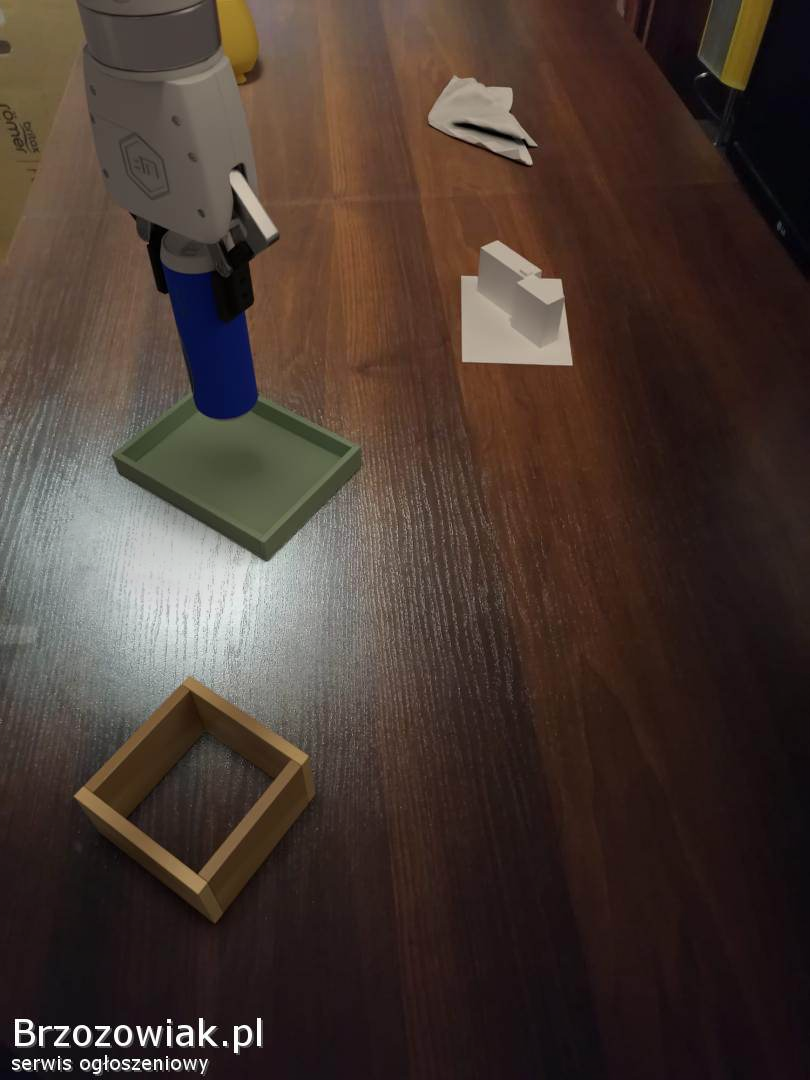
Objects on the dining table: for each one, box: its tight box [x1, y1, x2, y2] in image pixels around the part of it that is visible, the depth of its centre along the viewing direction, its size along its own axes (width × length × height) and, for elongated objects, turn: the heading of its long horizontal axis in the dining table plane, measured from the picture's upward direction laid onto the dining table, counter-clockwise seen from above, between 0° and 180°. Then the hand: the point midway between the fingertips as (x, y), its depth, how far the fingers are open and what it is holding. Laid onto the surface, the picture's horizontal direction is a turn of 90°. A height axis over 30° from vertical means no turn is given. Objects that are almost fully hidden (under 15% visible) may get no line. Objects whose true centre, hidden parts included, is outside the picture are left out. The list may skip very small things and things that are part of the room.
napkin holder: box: [460, 239, 574, 367], centre depth 89 cm, size 15×11×6 cm
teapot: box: [216, 0, 260, 85], centre depth 123 cm, size 13×20×12 cm
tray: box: [111, 390, 363, 562], centre depth 76 cm, size 17×13×2 cm
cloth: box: [427, 74, 539, 167], centre depth 118 cm, size 26×14×2 cm, turn 6°
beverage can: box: [160, 230, 259, 422], centre depth 65 cm, size 5×5×15 cm
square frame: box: [73, 675, 316, 925], centre depth 55 cm, size 10×10×6 cm
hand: (205, 296), depth 63 cm, fingers closed on beverage can, 5 cm apart
